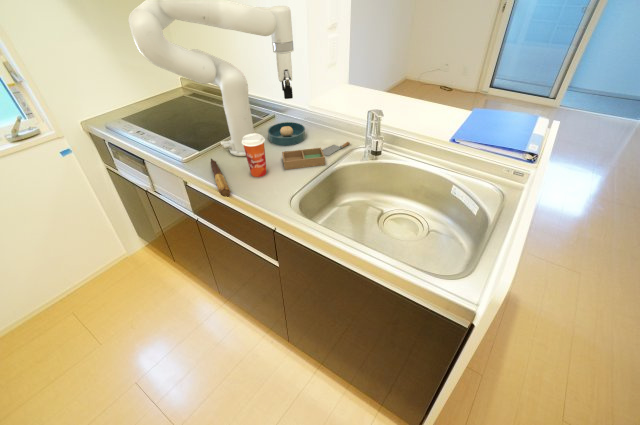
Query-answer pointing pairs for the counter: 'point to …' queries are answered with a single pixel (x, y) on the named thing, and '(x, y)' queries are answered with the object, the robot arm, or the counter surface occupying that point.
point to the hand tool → (220, 180)
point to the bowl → (294, 139)
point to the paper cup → (255, 154)
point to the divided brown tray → (303, 158)
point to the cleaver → (333, 149)
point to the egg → (286, 131)
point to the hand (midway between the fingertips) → (287, 94)
